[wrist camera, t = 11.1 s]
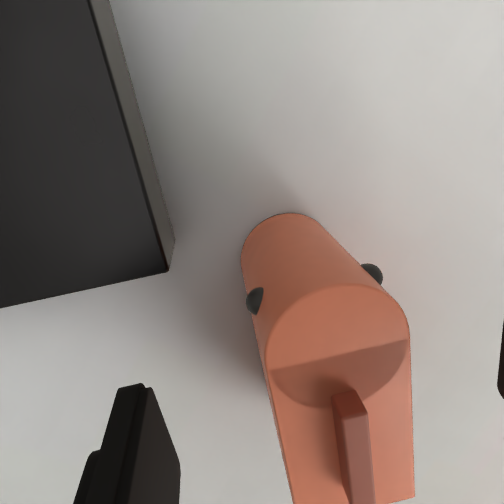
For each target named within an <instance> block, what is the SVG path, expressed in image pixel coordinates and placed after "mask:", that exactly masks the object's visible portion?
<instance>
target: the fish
mask: <svg viewBox="0 0 504 504" xmlns="http://www.w3.org/2000/svg"><path fill="white" fill-rule="evenodd" d="M241 268H242V273H243V278H244V282H245V287H246V292H247V298H246V305H247V308H248V310H249V311H250V312H251V315H252V320H253V325H254V329H255V334H256V339H257V343H258V348H259V353H260V358H261V362H262V367H263V372H264V376H265V381H266V386H267V390H268V395H269V399H270V403H271V408H272V412H273V417H274V421H275V426H276V430H277V434H278V439H279V443H280V448H281V452H282V456H283V461H284V465H285V470H286V474H287V479H288V483H289V487H290V492H291V496H292V501H293V504H389V503H393V502H397V501H401V500H405V499H409V498H413V497H415V487H414V455H413V422H412V389H411V357H410V334H409V326H408V322H407V318H406V316H405V314H404V312H403V310H402V308H401V307H400V305H399V304H398V303H397V302H396V301H395V300H394V299H393V298H392V297H391V296H390V295H389V294H388V293H387V292H386V291H385V290H384V289H383V288H382V287H381V286H380V285H381V284H382V280H383V276H382V273H381V271H380V269H379V268H378V267H377V266H375V265H373V264H362V265H360V264H359V263H358V262H357V261H356V260H355V259H354V258H353V257H352V256H351V255H350V254H349V253H348V252H347V251H346V250H345V249H344V248H343V247H342V246H341V245H340V244H339V243H338V242H337V241H336V240H335V239H334V238H333V237H332V236H331V235H330V234H329V233H328V232H327V231H326V230H325V229H324V228H323V227H322V226H321V225H320V224H319V223H318V222H317V221H315V220H314V219H312V218H310V217H307V216H305V215H301V214H295V213H286V214H279V215H276V216H273V217H270V218H268V219H266V220H265V221H263V222H261V223H260V224H259V225H257V226H256V227H255V228H254V229H253V230H252V232H251V233H250V234H249V236H248V237H247V239H246V241H245V243H244V245H243V248H242V252H241Z"/></svg>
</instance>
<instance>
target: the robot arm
mask: <svg viewBox="0 0 504 504" xmlns="http://www.w3.org/2000/svg"><path fill="white" fill-rule="evenodd" d="M497 387H498V390H499V393H500V394H501V396H502V397H503V399H504V323H503V332H502V342H501V352H500V361H499V371H498V381H497ZM180 476H181V472H180V463H179V459H178V456H177V453H176V451H175V448H174V445H173V443H172V440H171V437H170V434H169V432H168V429H167V426H166V424H165V421H164V418H163V416H162V413H161V410H160V407H159V405H158V402H157V399H156V397H155V394H154V391H153V389H152V388H151V387H148V388H145V386H144V385H143V384H142V383H139V384H135V385H130V386H126V387H121V388H119V389H118V391H117V393H116V397H115V400H114V404H113V407H112V411H111V414H110V418H109V421H108V424H107V428H106V431H105V435H104V438H103V442H102V445H101V449H100V450H97V451H93V452H92V453H91V454H90V455H89V457H88V459H87V462H86V465H85V468H84V471H83V474H82V477H81V480H80V484H79V487H78V490H77V493H76V496H75V499H74V503H73V504H179V493H180Z"/></svg>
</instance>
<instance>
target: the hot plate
mask: <svg viewBox="0 0 504 504" xmlns="http://www.w3.org/2000/svg"><path fill="white" fill-rule="evenodd" d="M174 244H175V237H174V234H173V230H172V227H171V223H170V219H169V216H168V212H167V209H166V205H165V201H164V198H163V194H162V190H161V187H160V183H159V180H158V176H157V172H156V169H155V165H154V162H153V158H152V154H151V151H150V147H149V144H148V140H147V136H146V133H145V129H144V125H143V122H142V118H141V115H140V111H139V107H138V104H137V100H136V97H135V93H134V89H133V86H132V82H131V78H130V75H129V71H128V68H127V64H126V60H125V57H124V53H123V50H122V46H121V42H120V39H119V35H118V32H117V28H116V24H115V21H114V17H113V13H112V10H111V6H110V3H109V0H0V308H4V307H9V306H13V305H18V304H23V303H27V302H32V301H36V300H41V299H46V298H50V297H55V296H59V295H64V294H69V293H73V292H78V291H83V290H87V289H92V288H96V287H101V286H106V285H110V284H115V283H119V282H124V281H129V280H133V279H138V278H143V277H147V276H152V275H156V274H161V273H166V272H168V271H169V268H170V263H171V258H172V254H173V249H174Z"/></svg>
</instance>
